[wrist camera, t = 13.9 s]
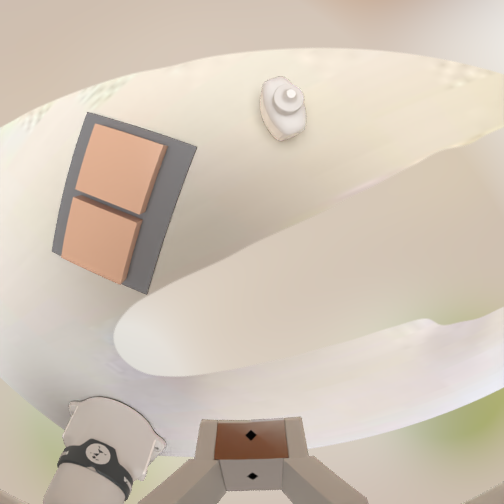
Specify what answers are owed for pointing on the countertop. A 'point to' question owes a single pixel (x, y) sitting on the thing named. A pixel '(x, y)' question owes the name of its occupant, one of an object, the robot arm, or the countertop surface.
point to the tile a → (100, 238)
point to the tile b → (120, 168)
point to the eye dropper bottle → (282, 108)
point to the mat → (153, 217)
